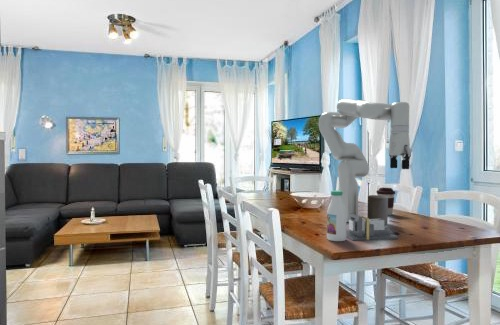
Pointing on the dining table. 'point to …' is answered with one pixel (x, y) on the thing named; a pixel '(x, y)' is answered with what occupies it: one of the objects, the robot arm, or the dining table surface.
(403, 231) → the dining table surface
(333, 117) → the robot arm
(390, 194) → the coffee cup
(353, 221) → the white post with dot
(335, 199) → the milk bottle
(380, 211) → the pillar candle
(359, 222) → the collar rail
